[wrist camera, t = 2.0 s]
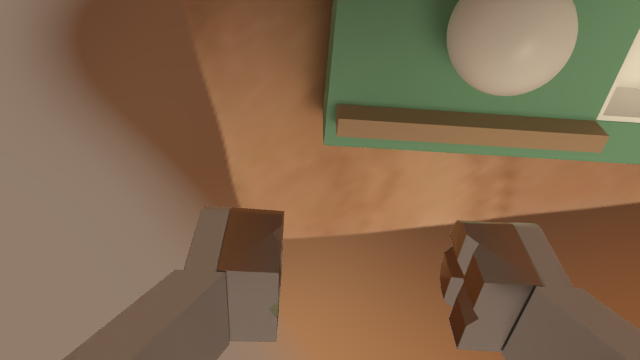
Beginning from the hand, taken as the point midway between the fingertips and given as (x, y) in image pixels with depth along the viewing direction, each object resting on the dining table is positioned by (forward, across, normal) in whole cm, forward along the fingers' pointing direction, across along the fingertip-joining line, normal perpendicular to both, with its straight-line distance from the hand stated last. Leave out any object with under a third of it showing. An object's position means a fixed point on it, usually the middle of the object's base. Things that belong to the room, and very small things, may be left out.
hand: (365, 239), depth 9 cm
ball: (+15, -7, 0) cm, 17 cm away
